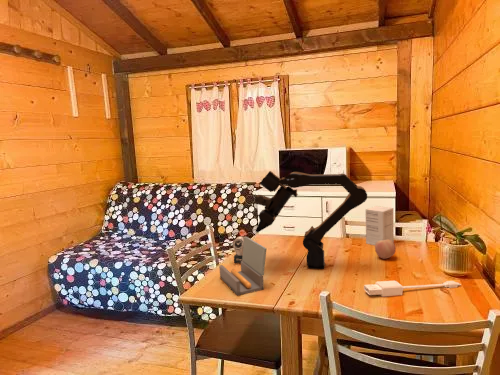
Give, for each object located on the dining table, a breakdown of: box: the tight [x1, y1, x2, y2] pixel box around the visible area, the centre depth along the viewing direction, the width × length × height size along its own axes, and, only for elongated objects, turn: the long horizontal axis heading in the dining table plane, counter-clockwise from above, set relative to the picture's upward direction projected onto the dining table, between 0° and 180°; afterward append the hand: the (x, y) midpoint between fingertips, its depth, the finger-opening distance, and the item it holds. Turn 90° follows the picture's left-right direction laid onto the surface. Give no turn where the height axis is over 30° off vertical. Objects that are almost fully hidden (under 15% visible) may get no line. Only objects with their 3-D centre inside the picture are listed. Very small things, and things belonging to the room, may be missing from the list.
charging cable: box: [363, 280, 462, 297], centre depth 118 cm, size 5×32×3 cm, turn 96°
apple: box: [374, 239, 396, 260], centre depth 149 cm, size 8×8×8 cm
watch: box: [232, 236, 246, 264], centre depth 154 cm, size 6×8×11 cm
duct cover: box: [242, 236, 267, 276], centre depth 133 cm, size 10×18×1 cm
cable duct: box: [219, 261, 265, 297], centre depth 132 cm, size 10×18×5 cm, turn 23°
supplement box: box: [365, 205, 395, 246], centre depth 168 cm, size 10×9×17 cm
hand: (258, 228), depth 148 cm, fingers open, 9 cm apart
